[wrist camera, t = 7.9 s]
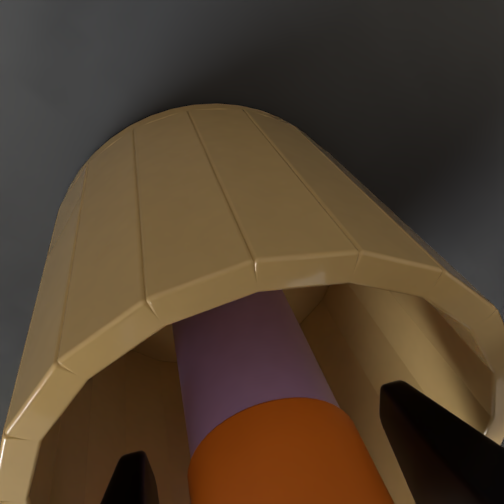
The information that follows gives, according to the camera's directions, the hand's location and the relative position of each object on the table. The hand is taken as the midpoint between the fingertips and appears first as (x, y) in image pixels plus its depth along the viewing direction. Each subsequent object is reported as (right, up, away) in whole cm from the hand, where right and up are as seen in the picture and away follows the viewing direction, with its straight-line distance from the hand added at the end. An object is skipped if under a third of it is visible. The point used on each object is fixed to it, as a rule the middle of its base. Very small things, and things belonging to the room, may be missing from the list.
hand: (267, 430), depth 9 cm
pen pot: (-1, +3, +5) cm, 6 cm away
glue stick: (-1, +3, +5) cm, 6 cm away
